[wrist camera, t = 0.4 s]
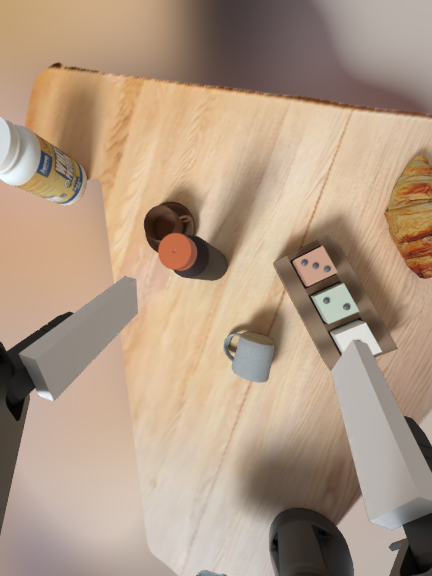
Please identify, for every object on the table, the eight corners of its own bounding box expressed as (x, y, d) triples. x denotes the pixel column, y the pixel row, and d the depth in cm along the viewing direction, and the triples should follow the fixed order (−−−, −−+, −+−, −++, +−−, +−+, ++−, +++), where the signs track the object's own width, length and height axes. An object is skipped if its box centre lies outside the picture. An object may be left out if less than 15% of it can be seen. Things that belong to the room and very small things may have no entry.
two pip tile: (351, 309, 38) (359, 311, 34) (323, 320, 39) (329, 324, 35) (337, 283, 38) (344, 283, 34) (310, 295, 39) (314, 296, 36)
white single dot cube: (371, 345, 37) (382, 352, 33) (342, 356, 38) (350, 364, 34) (357, 319, 37) (366, 322, 34) (328, 330, 38) (335, 335, 35)
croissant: (382, 175, 43) (378, 158, 37) (457, 150, 36) (466, 124, 30) (391, 281, 42) (388, 280, 36) (469, 275, 35) (482, 274, 30)
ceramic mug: (276, 336, 45) (276, 345, 37) (268, 372, 45) (267, 388, 38) (228, 324, 47) (220, 331, 40) (222, 359, 48) (213, 371, 40)
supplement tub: (94, 195, 55) (20, 157, 39) (59, 214, 58) (-24, 185, 42) (82, 152, 56) (5, 97, 40) (47, 173, 59) (-38, 129, 43)
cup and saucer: (178, 194, 50) (165, 181, 44) (206, 234, 48) (197, 227, 42) (141, 226, 52) (124, 219, 46) (166, 266, 51) (153, 263, 45)
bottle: (199, 250, 49) (152, 225, 29) (228, 250, 47) (199, 224, 27) (197, 280, 49) (150, 275, 29) (227, 281, 47) (197, 277, 28)
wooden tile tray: (382, 341, 40) (398, 348, 35) (324, 363, 42) (331, 372, 37) (324, 238, 42) (331, 232, 37) (273, 264, 45) (273, 262, 40)
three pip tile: (331, 273, 38) (338, 272, 35) (304, 286, 39) (308, 286, 36) (318, 249, 39) (323, 245, 35) (292, 262, 40) (294, 259, 36)
